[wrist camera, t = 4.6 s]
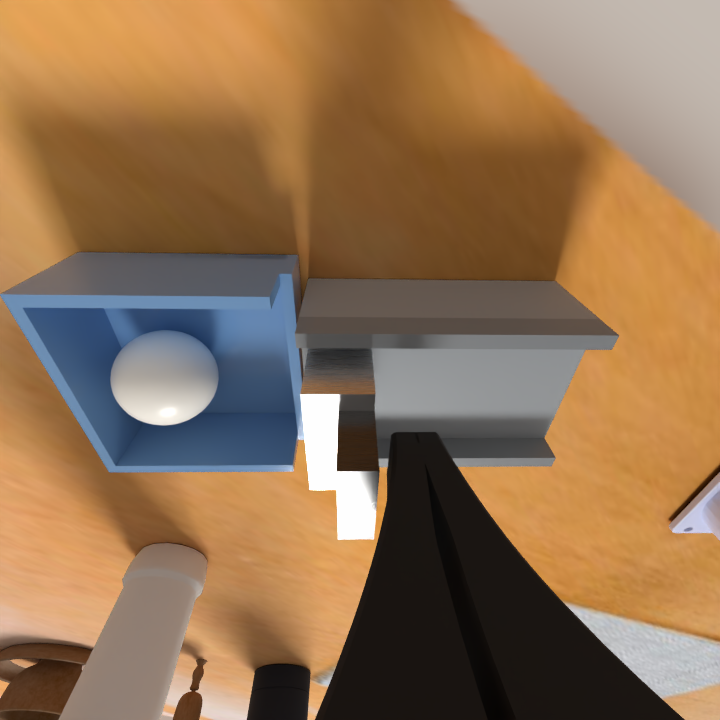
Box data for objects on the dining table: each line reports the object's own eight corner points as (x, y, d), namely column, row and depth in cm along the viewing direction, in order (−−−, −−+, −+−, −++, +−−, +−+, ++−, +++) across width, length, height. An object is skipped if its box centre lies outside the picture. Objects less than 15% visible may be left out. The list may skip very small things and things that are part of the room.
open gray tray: (555, 281, 14) (619, 335, 10) (513, 398, 17) (551, 466, 14) (308, 278, 13) (294, 333, 10) (316, 397, 17) (307, 467, 14)
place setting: (6, 615, 32) (-55, 705, 27) (222, 651, 39) (203, 728, 34) (-4, 669, 40) (-52, 745, 36) (175, 691, 47) (155, 757, 42)
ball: (220, 314, 14) (183, 368, 11) (236, 384, 16) (209, 446, 13) (128, 312, 14) (67, 366, 11) (157, 383, 16) (111, 445, 13)
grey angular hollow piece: (371, 345, 11) (380, 454, 8) (367, 435, 14) (373, 550, 10) (309, 344, 11) (289, 454, 8) (315, 435, 14) (303, 550, 10)
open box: (298, 254, 13) (283, 297, 10) (310, 411, 17) (303, 471, 15) (78, 252, 13) (0, 294, 10) (148, 411, 17) (109, 472, 14)
